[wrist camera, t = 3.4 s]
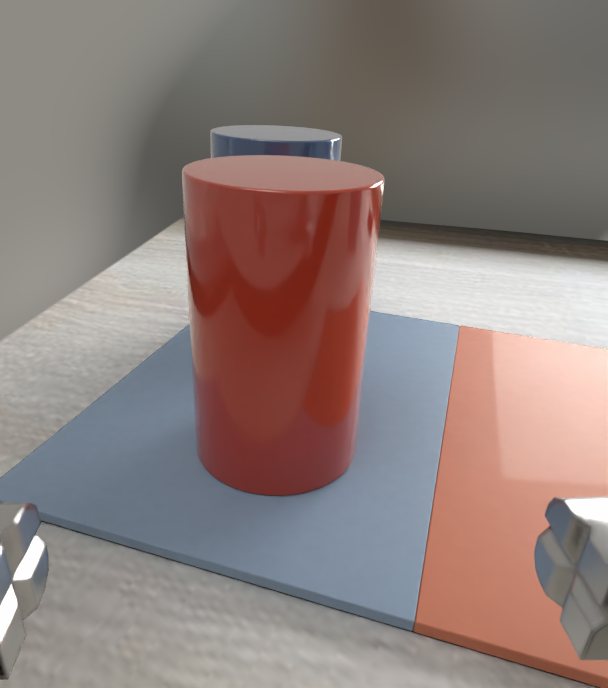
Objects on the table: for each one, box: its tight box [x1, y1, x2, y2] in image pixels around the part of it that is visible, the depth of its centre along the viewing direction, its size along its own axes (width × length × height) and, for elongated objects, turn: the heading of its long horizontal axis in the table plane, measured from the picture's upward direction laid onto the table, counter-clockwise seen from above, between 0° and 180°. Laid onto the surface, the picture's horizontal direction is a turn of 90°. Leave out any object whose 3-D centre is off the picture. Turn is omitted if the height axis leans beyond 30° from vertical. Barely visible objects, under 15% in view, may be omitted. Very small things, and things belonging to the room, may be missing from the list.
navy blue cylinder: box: [210, 125, 342, 161], centre depth 28 cm, size 6×6×10 cm
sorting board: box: [0, 311, 608, 688], centre depth 24 cm, size 26×20×1 cm
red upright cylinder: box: [182, 155, 384, 496], centre depth 19 cm, size 6×6×10 cm
